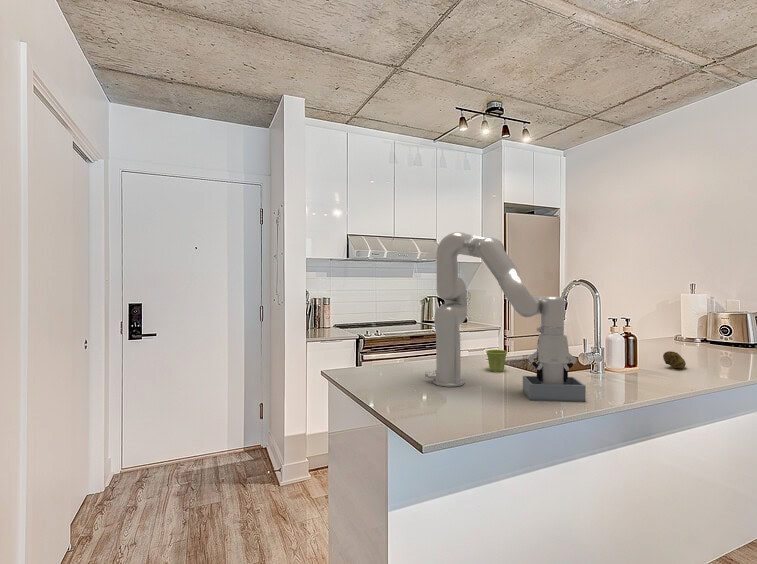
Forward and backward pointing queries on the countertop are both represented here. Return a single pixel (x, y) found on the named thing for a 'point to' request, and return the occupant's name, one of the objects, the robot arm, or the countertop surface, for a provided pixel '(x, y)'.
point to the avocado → (674, 360)
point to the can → (553, 372)
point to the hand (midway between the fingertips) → (552, 380)
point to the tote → (554, 390)
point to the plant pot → (496, 360)
